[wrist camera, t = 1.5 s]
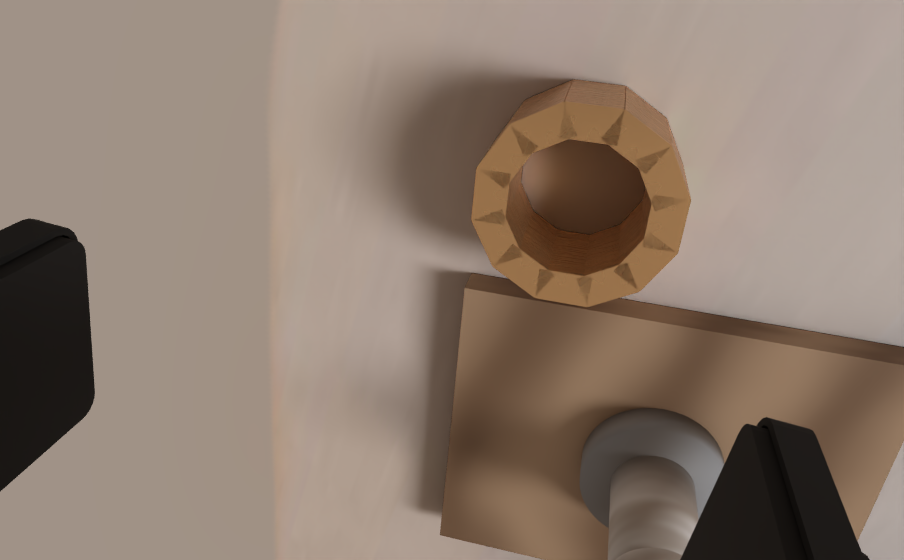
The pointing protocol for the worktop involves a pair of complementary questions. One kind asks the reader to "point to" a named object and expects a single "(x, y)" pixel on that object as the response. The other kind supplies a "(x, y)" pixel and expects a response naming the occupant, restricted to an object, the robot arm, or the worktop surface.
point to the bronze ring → (568, 253)
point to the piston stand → (642, 419)
